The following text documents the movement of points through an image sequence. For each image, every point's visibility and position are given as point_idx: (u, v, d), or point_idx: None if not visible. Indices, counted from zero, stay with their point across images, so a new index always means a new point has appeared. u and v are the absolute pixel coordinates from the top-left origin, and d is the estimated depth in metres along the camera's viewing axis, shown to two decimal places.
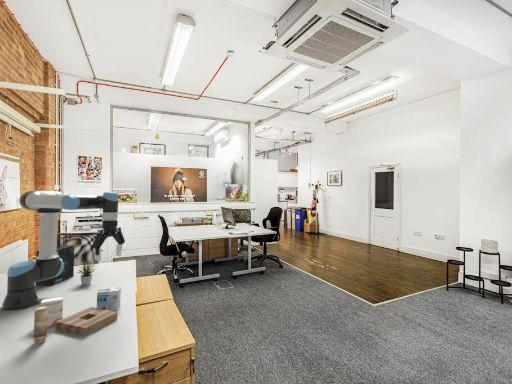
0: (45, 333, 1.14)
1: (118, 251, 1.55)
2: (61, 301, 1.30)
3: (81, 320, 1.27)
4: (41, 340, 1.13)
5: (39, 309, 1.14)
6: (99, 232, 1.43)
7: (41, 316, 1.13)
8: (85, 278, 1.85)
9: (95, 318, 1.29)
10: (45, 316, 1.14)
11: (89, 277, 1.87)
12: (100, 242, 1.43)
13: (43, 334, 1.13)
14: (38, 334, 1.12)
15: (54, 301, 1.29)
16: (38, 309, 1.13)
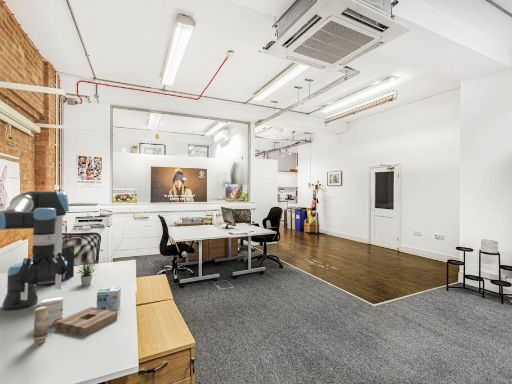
0: (45, 333, 1.14)
1: (57, 283, 1.20)
2: (61, 301, 1.30)
3: (81, 320, 1.27)
4: (41, 340, 1.13)
5: (39, 309, 1.14)
6: (25, 262, 1.08)
7: (41, 316, 1.13)
8: (85, 278, 1.85)
9: (95, 318, 1.29)
10: (45, 316, 1.14)
11: (89, 277, 1.87)
12: (27, 275, 1.08)
13: (43, 334, 1.13)
14: (38, 334, 1.12)
15: (54, 301, 1.29)
16: (38, 309, 1.13)
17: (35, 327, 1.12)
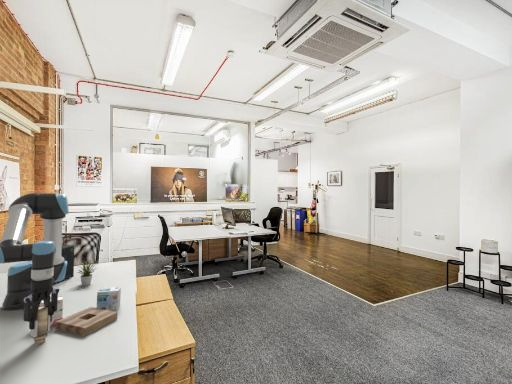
0: (45, 333, 1.14)
1: None
2: (61, 301, 1.30)
3: (81, 320, 1.27)
4: (41, 340, 1.13)
5: (39, 309, 1.14)
6: (25, 302, 1.08)
7: (41, 316, 1.13)
8: (85, 278, 1.85)
9: (95, 318, 1.29)
10: (45, 316, 1.14)
11: (89, 277, 1.87)
12: (33, 313, 1.11)
13: (43, 334, 1.13)
14: (38, 334, 1.12)
15: None
16: (38, 309, 1.13)
17: None
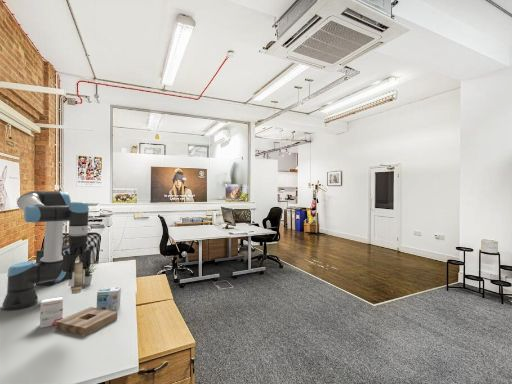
0: (81, 284, 1.26)
1: None
2: (61, 301, 1.30)
3: (81, 320, 1.27)
4: (77, 290, 1.25)
5: (75, 262, 1.26)
6: (64, 254, 1.21)
7: (77, 268, 1.25)
8: (85, 278, 1.85)
9: (95, 318, 1.29)
10: (81, 269, 1.26)
11: (89, 277, 1.87)
12: (70, 264, 1.23)
13: (79, 285, 1.25)
14: (75, 284, 1.24)
15: (54, 301, 1.29)
16: None
17: None
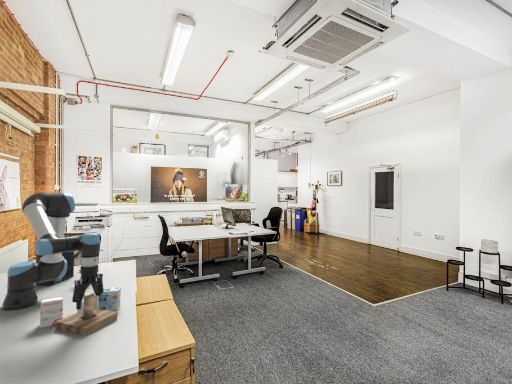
0: (92, 316, 1.31)
1: (95, 304, 1.34)
2: (61, 301, 1.30)
3: (81, 320, 1.27)
4: None
5: (87, 295, 1.30)
6: (76, 284, 1.25)
7: (89, 301, 1.29)
8: None
9: (95, 318, 1.29)
10: (92, 301, 1.31)
11: None
12: (80, 294, 1.27)
13: (91, 317, 1.30)
14: (87, 317, 1.29)
15: (54, 301, 1.29)
16: (86, 295, 1.30)
17: (84, 310, 1.29)
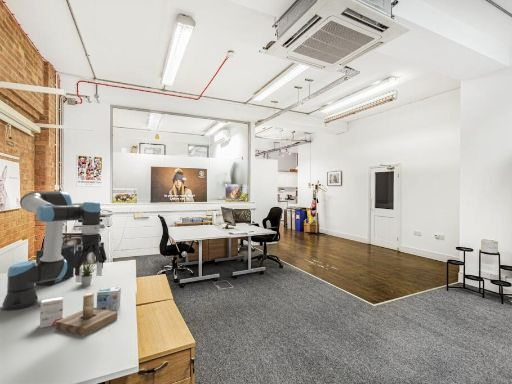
0: (92, 316, 1.31)
1: (98, 270, 1.36)
2: (61, 301, 1.30)
3: (81, 320, 1.27)
4: None
5: (87, 295, 1.30)
6: (77, 249, 1.25)
7: (89, 301, 1.29)
8: (85, 278, 1.85)
9: (95, 318, 1.29)
10: (92, 301, 1.31)
11: (89, 277, 1.87)
12: (80, 261, 1.26)
13: (91, 317, 1.30)
14: (87, 317, 1.29)
15: (54, 301, 1.29)
16: (86, 295, 1.30)
17: (84, 310, 1.29)
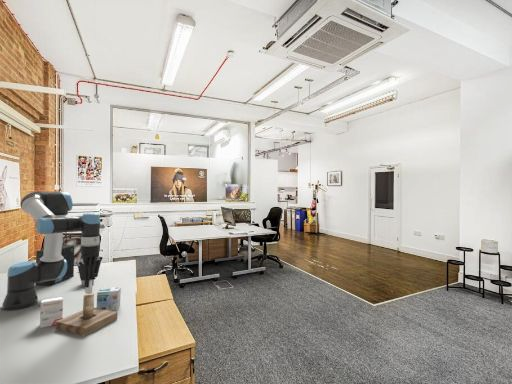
0: (92, 316, 1.31)
1: None
2: (61, 301, 1.30)
3: (81, 320, 1.27)
4: None
5: (87, 295, 1.30)
6: (79, 265, 1.26)
7: (89, 301, 1.29)
8: None
9: (95, 318, 1.29)
10: (92, 301, 1.31)
11: None
12: (86, 274, 1.29)
13: (91, 317, 1.30)
14: (87, 317, 1.29)
15: (54, 301, 1.29)
16: (86, 295, 1.30)
17: (84, 310, 1.29)
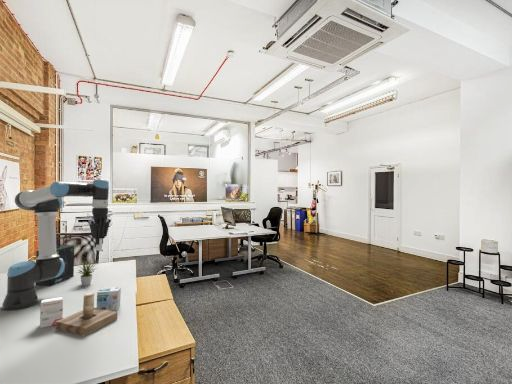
0: (92, 316, 1.31)
1: None
2: (61, 301, 1.30)
3: (81, 320, 1.27)
4: None
5: (87, 295, 1.30)
6: (90, 223, 1.43)
7: (89, 301, 1.29)
8: (85, 278, 1.85)
9: (95, 318, 1.29)
10: (92, 301, 1.31)
11: (89, 277, 1.87)
12: (97, 232, 1.46)
13: (91, 317, 1.30)
14: (87, 316, 1.29)
15: (54, 301, 1.29)
16: (86, 295, 1.30)
17: (84, 310, 1.29)
